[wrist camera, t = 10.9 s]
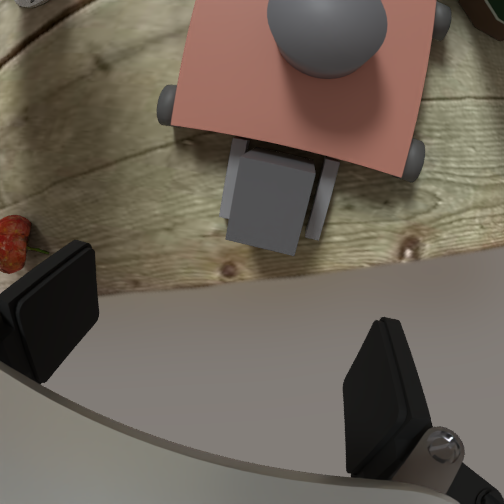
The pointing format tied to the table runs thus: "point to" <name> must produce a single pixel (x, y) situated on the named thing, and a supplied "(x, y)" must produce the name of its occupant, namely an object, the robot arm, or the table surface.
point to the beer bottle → (486, 16)
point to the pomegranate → (14, 243)
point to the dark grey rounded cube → (270, 200)
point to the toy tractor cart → (309, 82)
